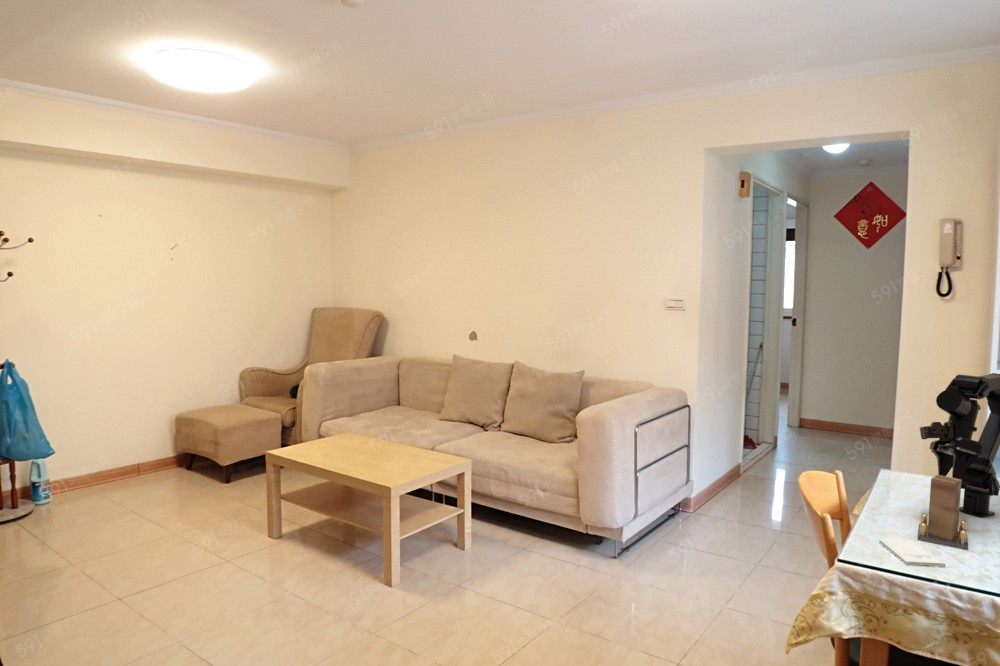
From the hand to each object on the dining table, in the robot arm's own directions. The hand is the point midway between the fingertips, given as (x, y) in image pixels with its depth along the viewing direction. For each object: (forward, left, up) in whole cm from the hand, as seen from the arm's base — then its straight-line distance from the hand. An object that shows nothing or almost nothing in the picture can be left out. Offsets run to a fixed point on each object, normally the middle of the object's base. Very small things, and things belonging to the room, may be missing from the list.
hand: (947, 478), depth 167 cm
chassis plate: (+10, +5, -12) cm, 17 cm away
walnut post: (+10, +5, -11) cm, 16 cm away
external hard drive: (+27, +9, -13) cm, 32 cm away
